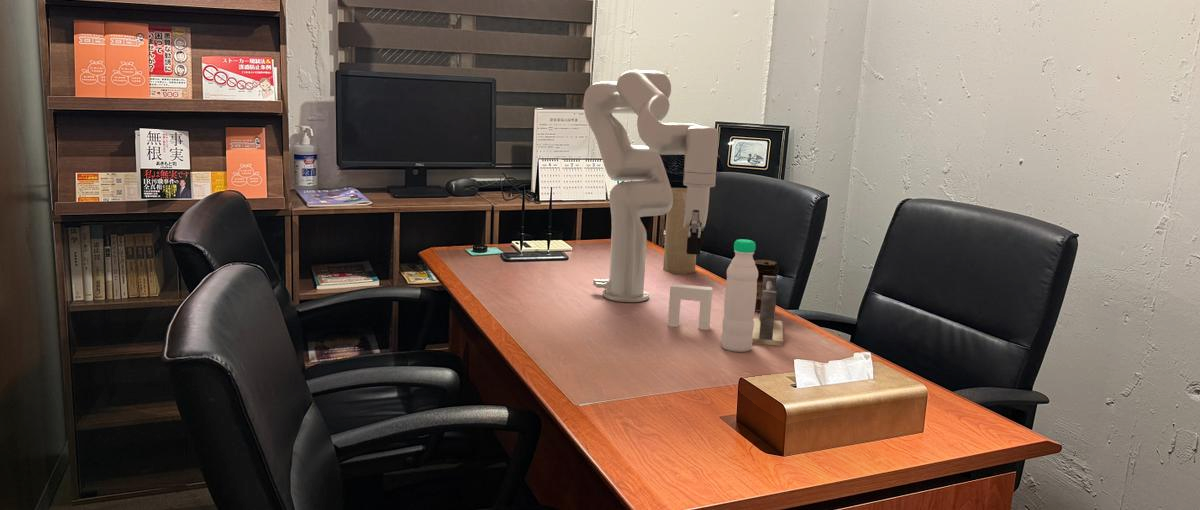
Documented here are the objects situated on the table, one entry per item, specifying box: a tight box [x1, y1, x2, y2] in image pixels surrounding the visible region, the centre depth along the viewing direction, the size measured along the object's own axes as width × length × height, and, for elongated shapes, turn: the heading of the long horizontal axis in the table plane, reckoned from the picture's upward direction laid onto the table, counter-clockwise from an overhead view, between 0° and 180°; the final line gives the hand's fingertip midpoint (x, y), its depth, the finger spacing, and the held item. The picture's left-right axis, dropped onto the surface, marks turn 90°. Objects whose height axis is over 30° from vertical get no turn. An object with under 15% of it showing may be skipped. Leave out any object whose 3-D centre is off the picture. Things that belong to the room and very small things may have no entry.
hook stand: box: [752, 275, 784, 347], centre depth 210 cm, size 8×17×12 cm, turn 170°
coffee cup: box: [754, 259, 780, 312], centre depth 231 cm, size 9×8×13 cm
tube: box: [662, 187, 697, 275], centre depth 271 cm, size 10×10×25 cm
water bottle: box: [720, 238, 758, 353], centre depth 197 cm, size 7×7×25 cm
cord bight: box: [667, 283, 713, 331], centre depth 213 cm, size 10×3×10 cm, turn 80°
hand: (694, 250), depth 210 cm, fingers open, 9 cm apart
